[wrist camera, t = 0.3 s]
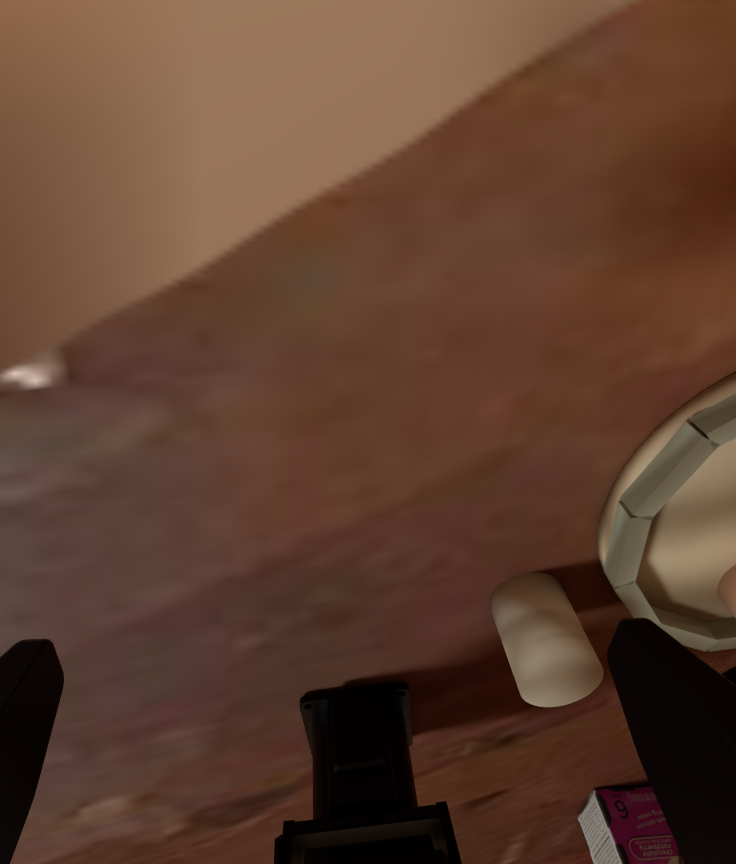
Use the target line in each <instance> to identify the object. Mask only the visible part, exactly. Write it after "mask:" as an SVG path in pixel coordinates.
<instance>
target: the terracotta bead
mask: <svg viewBox="0 0 736 864" xmlns="http://www.w3.org/2000/svg"><path fill="white" fill-rule="evenodd" d="M717 595H718V597H719V598H720V600H721V601H722V602H723V603H724V605H725V606H726V607H727V608H728V610H729V611H730V612H731V613H732V615H733V616H734V617H735V618H736V564H735V565H734V566H733V567H731V568H730V569H729V570H728V571H727V572H726V573H725V574H724V575H723V577H722V578H721V580H720V581H719V583H718V586H717Z"/></svg>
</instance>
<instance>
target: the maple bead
mask: <svg viewBox="0 0 736 864" xmlns="http://www.w3.org/2000/svg"><path fill="white" fill-rule="evenodd" d="M490 609H491V612H492V615H493V618H494V621H495V623H496V626H497V629H498V632H499V635H500V638H501V641H502V643H503V646H504V649H505V652H506V655H507V658H508V661H509V663H510V666H511V669H512V672H513V675H514V678H515V681H516V683H517V686H518V689H519V692H520V695H521V697H522V698H523V699H524V700H525V701H526V702H528V703H529V704H532V705H535V706H539V707H557V706H563V705H567V704H570V703H573V702H576V701H578V700H580V699H582V698H584V697H586V696H587V695H589V694H590V693H591V692H593V691H594V690H595V689H596V688H597V687H598V686H599V684H600V683H601V681H602V679H603V675H604V670H603V667H602V665H601V663H600V661H599V659H598V657H597V655H596V653H595V651H594V649H593V647H592V645H591V643H590V641H589V639H588V637H587V635H586V633H585V631H584V629H583V627H582V625H581V623H580V621H579V620H578V618H577V616H576V614H575V612H574V610H573V608H572V606H571V604H570V602H569V600H568V598H567V596H566V594H565V592H564V590H563V588H562V586H561V584H560V582H559V581H558V580H557V579H556V578H555V577H553V576H551V575H549V574H546V573H541V572H529V573H523V574H520V575H517V576H514V577H512V578H510V579H508V580H506V581H505V582H503V583H502V584H501V585H500V586H498V587H497V589H496V590H495V591H494V592H493V594H492V596H491V599H490Z"/></svg>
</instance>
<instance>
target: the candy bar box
mask: <svg viewBox="0 0 736 864" xmlns="http://www.w3.org/2000/svg"><path fill="white" fill-rule="evenodd" d="M578 821H579V824H580V827H581V830H582V833H583V835H584V838H585V841H586V843H587V846H588V849H589V852H590V854H591V857H592V860H593V862H594V864H685V863H684V861H683V858H682V856H681V854H680V851H679V849H678V847H677V844H676V842H675V840H674V838H673V835H672V833H671V831H670V828H669V826H668V824H667V821H666V819H665V817H664V815H663V812H662V810H661V808H660V805H659V803H658V801H657V798H656V796H655V794H654V791H653V789H652V787H651V786H647V787H629V788H611V789H595V790H593V791H592V793H591V794H590V796H589V798H588V800H587V802H586V804H585V806H584V807H583V809H582V810H581V812H580V814H579V816H578Z"/></svg>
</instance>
